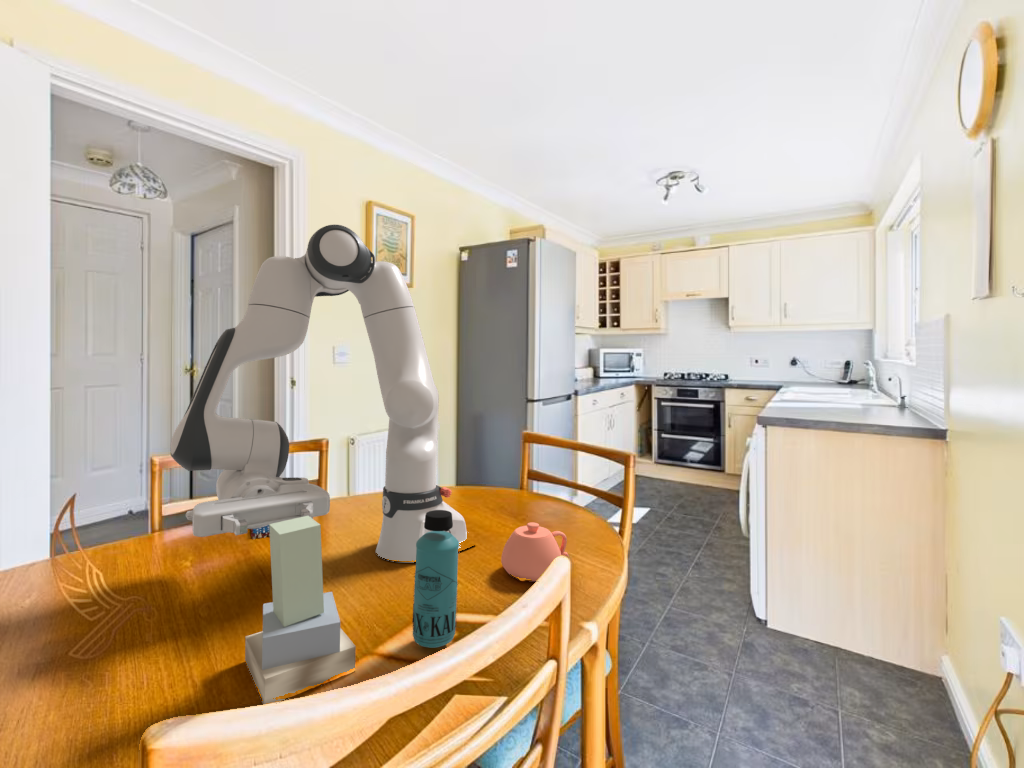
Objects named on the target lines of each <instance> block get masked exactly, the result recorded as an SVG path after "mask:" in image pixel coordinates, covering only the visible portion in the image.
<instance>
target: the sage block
mask: <svg viewBox="0 0 1024 768" xmlns="http://www.w3.org/2000/svg"><path fill="white" fill-rule="evenodd" d="M269 529H270V537H269V545H270V547H269V548H270V568H271V569H270V570H271V571H270V572H271V586H272V587H271V588H272V589H271V590H272V591H271V592H272V602H273V612H274V613H275V615H276V616H277V617H278V619H279V620H280V622H281V623H282V625H283V626H284V627H286V626H288V625H291V624H294V623H297V622H299V621H302V620H305V619H308V618H311V617H313V616H316V615H319V614H322V613H324V600H323V593H324V581H323V557H322V553H323V552H322V550H323V549H322V533H321V532H322V530H321V524H320V523H319V522H317V521H316V520H315V519H314V518H313V519H312V518H311V517H309V516H304V517H299V518H295V519H290V520H286V521H281V522H277V523H272V524H269Z"/></svg>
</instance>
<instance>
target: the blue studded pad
mask: <svg viewBox="0 0 1024 768" xmlns="http://www.w3.org/2000/svg"><path fill="white" fill-rule="evenodd" d="M250 532H251V533H250V536H251V538H252V540H256V538H258V539H262V538H264V539H267V538H266V537H267V536H268V537H269V538H270V529H269V525H266V526H264V527H261V528H256V529H250Z"/></svg>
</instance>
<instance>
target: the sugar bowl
mask: <svg viewBox="0 0 1024 768" xmlns="http://www.w3.org/2000/svg"><path fill="white" fill-rule="evenodd" d="M557 536H561V543H560V546H559V544H558V542H557V540H556V538H555V537H557ZM567 542H568V540H567V535H566V534H565V533H564V532H562V531H560V530H555V531H552V532H551V531H550V529H548V528H546V527H543V526H540V524H539V522H538V523H537V522H527V524H526V525H523V526H522V525H521V526H519V527H517V528H515V529H514V531H513V532H512V533H511V534H510V536H509V538H508V539H507V541H506V542H505V545H504V546H503V550H502V554H501V560H500V561H501V565H502V567H503V568H504V570H505V571H506V572H507V574H509V575H510V574H511V575H513V576H515V577H519V578H526V579H531V580H532V581H531V582H537V581H536V580H537V579H538V578H539V577H540V575H541V574H542V573H543V572H544V571H545V569H546V568H547V567H548V566H549V565H550V563H551V562H552V561H553V559H554V558H556V557H557V556H560V555H563V556H564V557H565V556H568V557H570V556H569V554H568V552H567V551H565V550H566V548H567ZM511 575H510V576H511Z"/></svg>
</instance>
